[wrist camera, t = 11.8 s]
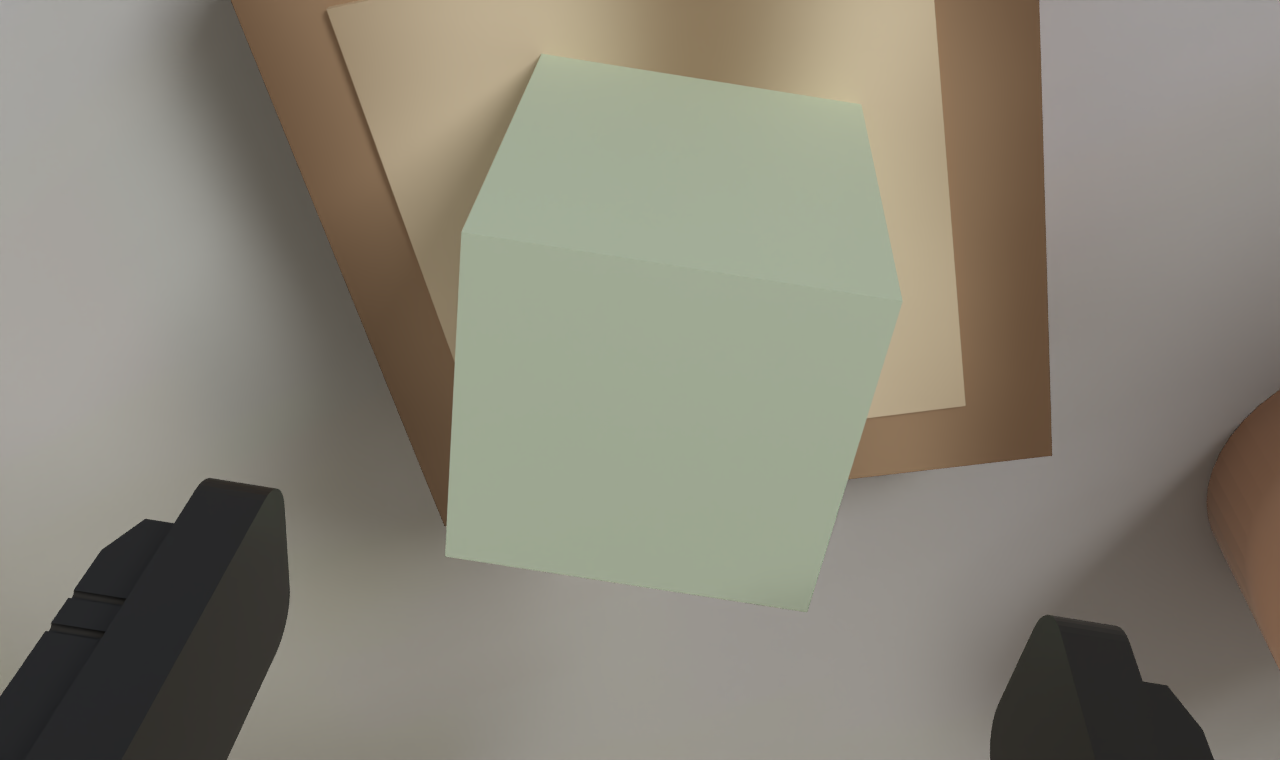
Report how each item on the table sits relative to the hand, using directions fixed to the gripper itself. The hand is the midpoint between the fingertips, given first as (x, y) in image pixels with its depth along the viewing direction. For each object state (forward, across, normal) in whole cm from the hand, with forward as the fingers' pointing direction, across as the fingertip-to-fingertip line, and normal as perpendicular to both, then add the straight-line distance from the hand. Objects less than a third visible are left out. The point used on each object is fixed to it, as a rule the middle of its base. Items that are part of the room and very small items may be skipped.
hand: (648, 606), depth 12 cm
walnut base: (+12, 0, 0) cm, 12 cm away
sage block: (+9, 0, 0) cm, 9 cm away
